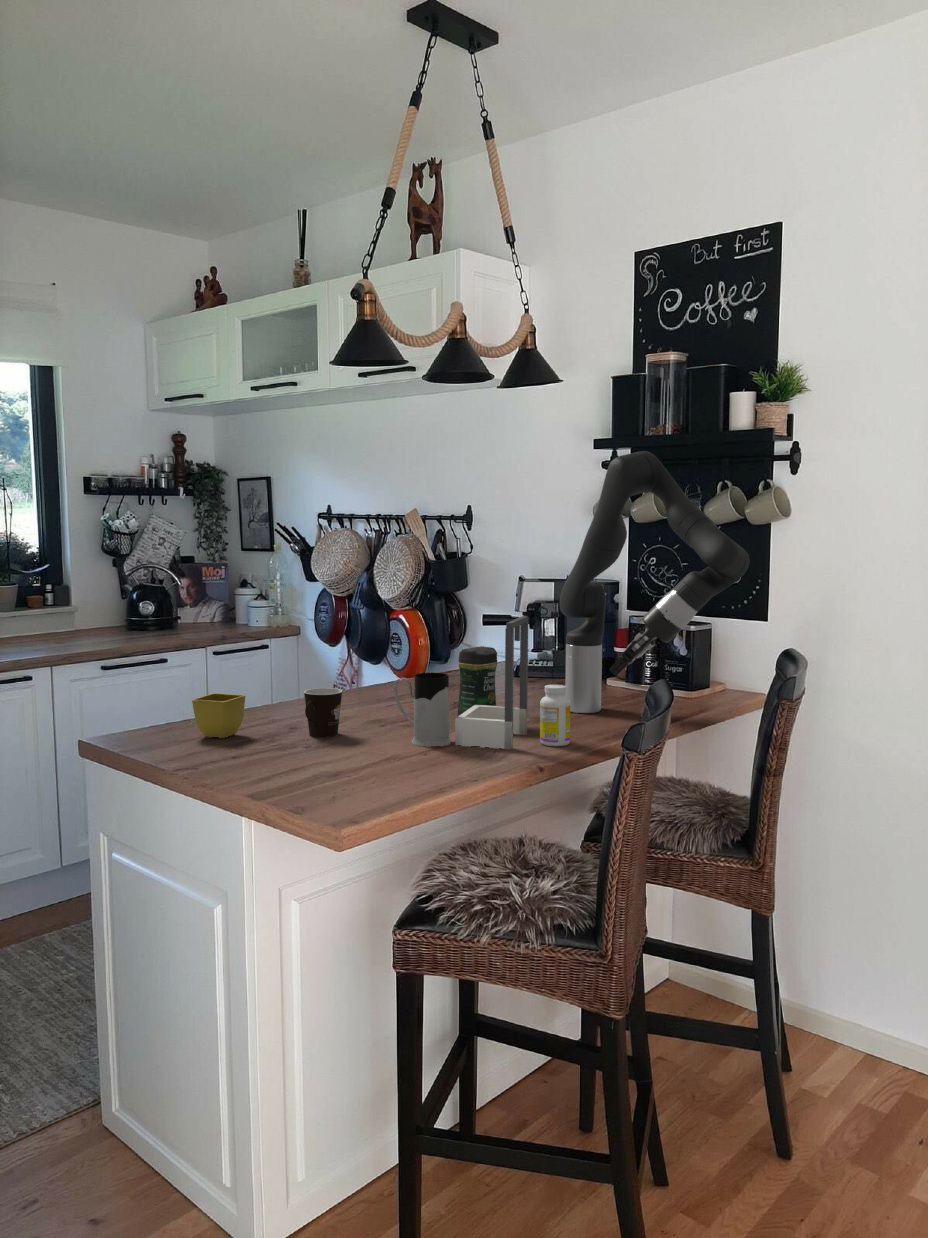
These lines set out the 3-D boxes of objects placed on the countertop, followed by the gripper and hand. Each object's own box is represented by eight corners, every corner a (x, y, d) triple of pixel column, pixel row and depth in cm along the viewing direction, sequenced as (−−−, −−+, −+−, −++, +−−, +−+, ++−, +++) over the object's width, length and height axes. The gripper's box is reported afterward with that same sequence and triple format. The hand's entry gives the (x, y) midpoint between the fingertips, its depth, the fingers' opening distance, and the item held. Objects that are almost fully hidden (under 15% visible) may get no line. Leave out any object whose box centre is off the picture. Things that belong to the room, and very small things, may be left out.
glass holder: (437, 748, 208) (437, 679, 206) (383, 740, 215) (383, 674, 214) (458, 741, 215) (459, 674, 214) (406, 733, 223) (406, 668, 221)
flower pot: (191, 738, 217) (190, 699, 216) (214, 730, 225) (213, 692, 224) (225, 742, 214) (224, 701, 213) (247, 733, 222) (246, 695, 221)
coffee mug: (327, 728, 227) (327, 686, 226) (350, 734, 221) (349, 691, 220) (285, 736, 219) (285, 692, 218) (308, 742, 213) (307, 698, 212)
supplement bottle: (562, 739, 217) (563, 682, 216) (575, 746, 211) (576, 688, 210) (535, 741, 215) (535, 684, 214) (546, 748, 209) (547, 689, 208)
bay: (474, 730, 226) (475, 614, 224) (527, 733, 223) (528, 616, 220) (455, 745, 211) (455, 621, 208) (511, 749, 208) (512, 623, 205)
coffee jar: (477, 728, 228) (478, 650, 226) (452, 723, 233) (452, 647, 231) (502, 722, 236) (503, 646, 234) (477, 717, 241) (477, 643, 239)
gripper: (661, 601, 210) (606, 657, 214) (652, 604, 197) (594, 663, 202) (687, 625, 208) (630, 681, 213) (679, 630, 196) (619, 689, 201)
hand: (612, 672), depth 207 cm, fingers closed
